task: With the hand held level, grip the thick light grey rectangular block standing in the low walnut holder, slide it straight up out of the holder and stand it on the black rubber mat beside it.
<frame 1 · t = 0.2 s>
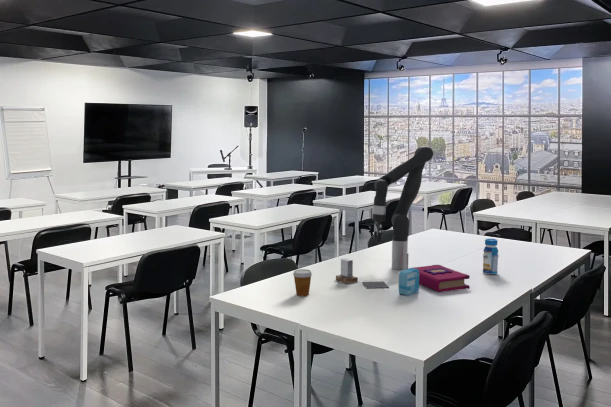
hand: (377, 240, 331), 18 cm above the table, tool pointing down, fingers open, 8 cm apart
disposable coffee cup: (302, 294, 280), on the table
book: (437, 284, 300), on the table
data package: (408, 293, 283), on the table
beverage bottle: (490, 273, 321), on the table
walnut holder: (346, 280, 306), on the table
light grey rectangular block: (346, 281, 306), resting in walnut holder
black mat: (375, 285, 297), on the table
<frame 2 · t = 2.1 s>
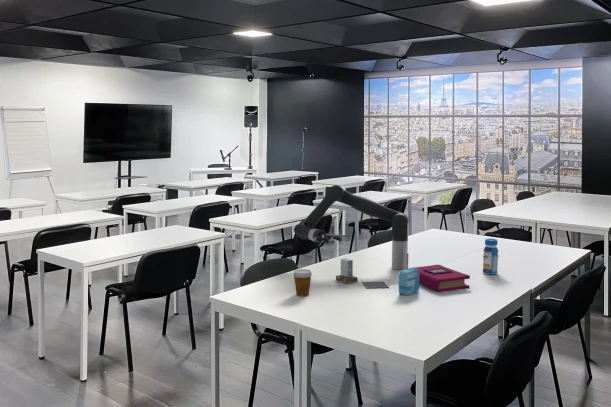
hand: (334, 239, 313), 21 cm above the table, tool horizontal, fingers open, 8 cm apart
nothing on the table moved.
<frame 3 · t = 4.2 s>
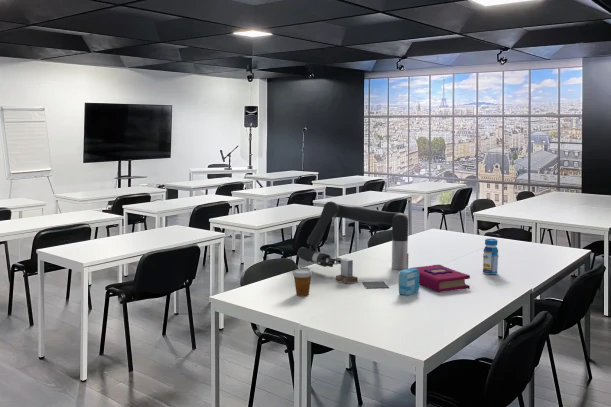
hand: (338, 264, 311), 8 cm above the table, tool horizontal, fingers open, 8 cm apart
nothing on the table moved.
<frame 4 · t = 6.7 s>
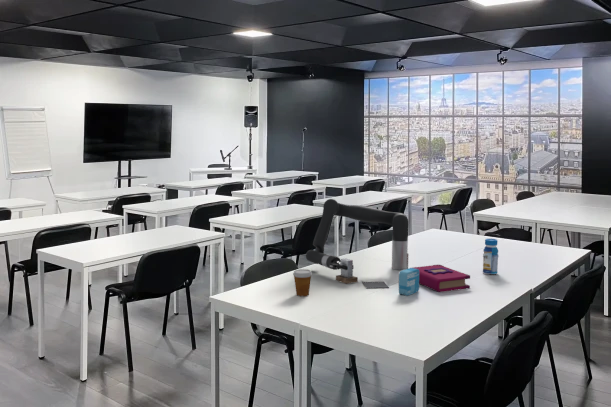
hand: (350, 267, 303), 8 cm above the table, tool horizontal, fingers closed on light grey rectangular block, 3 cm apart
light grey rectangular block: (346, 281, 306), resting in walnut holder, touching gripper
everything else where it was.
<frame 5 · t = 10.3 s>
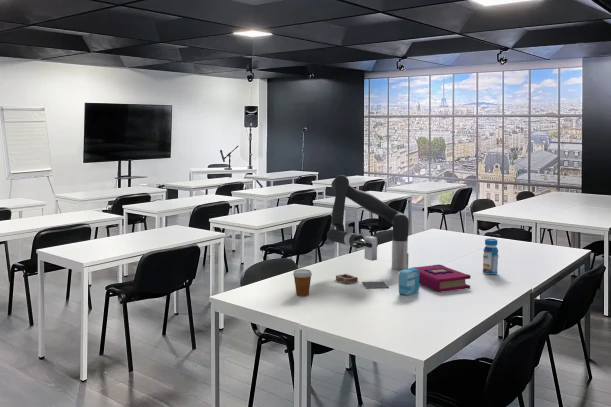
hand: (374, 245, 294), 22 cm above the table, tool horizontal, fingers closed on light grey rectangular block, 3 cm apart
light grey rectangular block: (370, 259, 297), point 14 cm above the table, touching gripper
everything else where it was.
when the fingers open (9 cm above the table, at t = 14.0 s): light grey rectangular block stays where it is, resting on black mat.
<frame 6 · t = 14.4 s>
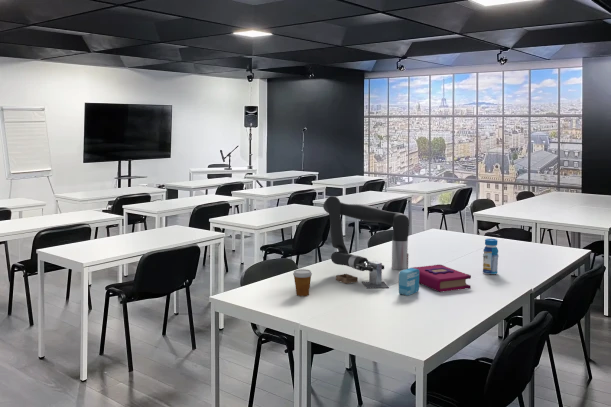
hand: (378, 268, 294), 10 cm above the table, tool horizontal, fingers open, 7 cm apart
light grey rectangular block: (375, 284, 297), resting on black mat
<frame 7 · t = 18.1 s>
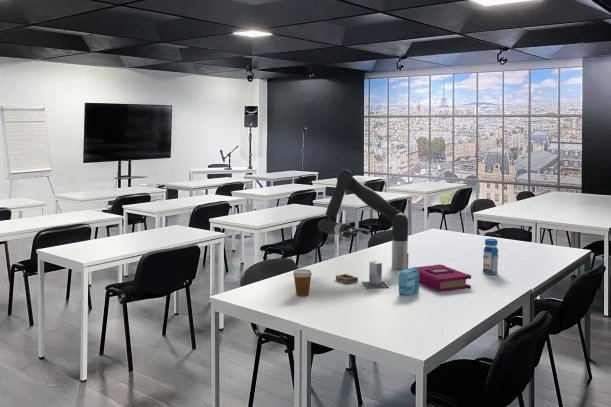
hand: (362, 233, 303), 26 cm above the table, tool horizontal, fingers open, 8 cm apart
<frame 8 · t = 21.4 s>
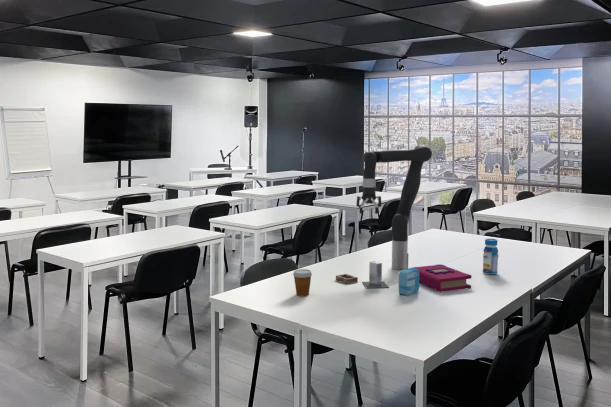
hand: (368, 213, 324), 34 cm above the table, tool pointing down, fingers open, 8 cm apart
at the end: light grey rectangular block inside the target area on the black mat (0.0 cm from its centre), point 0.4 cm above the black mat's base; light grey rectangular block tilted 0°; the gripper is holding nothing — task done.
